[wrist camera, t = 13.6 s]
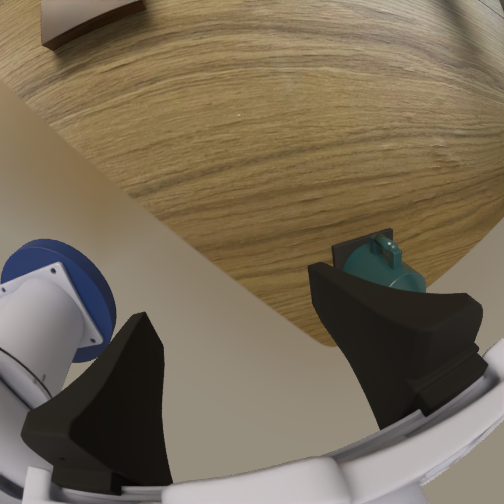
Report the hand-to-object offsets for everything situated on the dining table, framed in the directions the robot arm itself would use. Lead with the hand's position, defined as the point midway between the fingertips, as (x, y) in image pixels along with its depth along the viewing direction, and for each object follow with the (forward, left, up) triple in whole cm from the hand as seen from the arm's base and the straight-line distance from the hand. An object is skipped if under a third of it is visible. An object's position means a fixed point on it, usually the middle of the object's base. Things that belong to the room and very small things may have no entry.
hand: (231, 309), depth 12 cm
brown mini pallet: (-5, +24, -10) cm, 27 cm away
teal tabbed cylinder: (+12, -7, -10) cm, 17 cm away
